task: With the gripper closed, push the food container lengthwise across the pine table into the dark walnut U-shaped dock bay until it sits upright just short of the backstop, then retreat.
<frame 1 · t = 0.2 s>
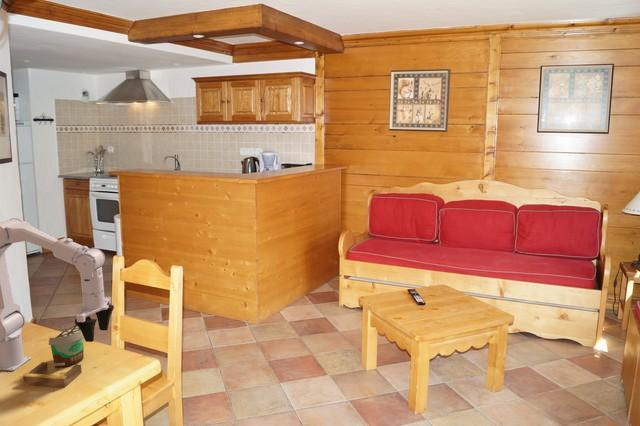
hand: (96, 335, 147), 10 cm above the table, fingers open, 7 cm apart
food container: (74, 362, 153), on the table
dock bay: (52, 379, 143), on the table
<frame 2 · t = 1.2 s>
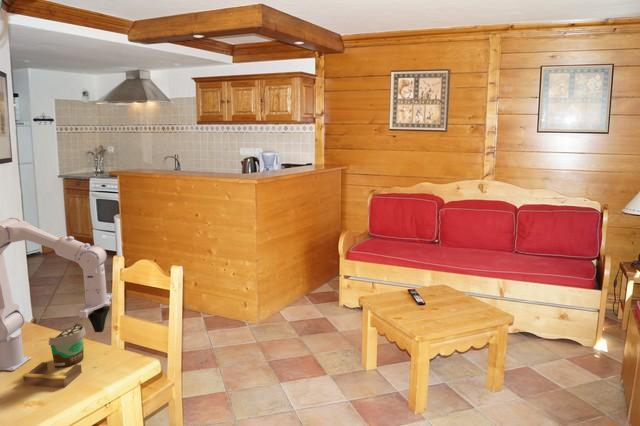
hand: (99, 331, 150), 10 cm above the table, fingers closed
nothing on the table moved.
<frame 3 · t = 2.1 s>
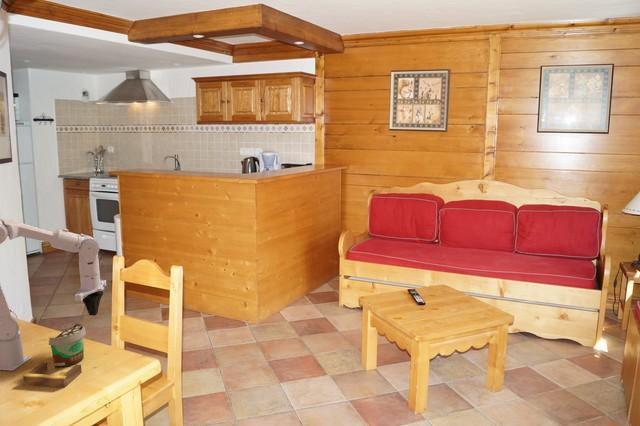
hand: (93, 314, 162), 10 cm above the table, fingers closed
nothing on the table moved.
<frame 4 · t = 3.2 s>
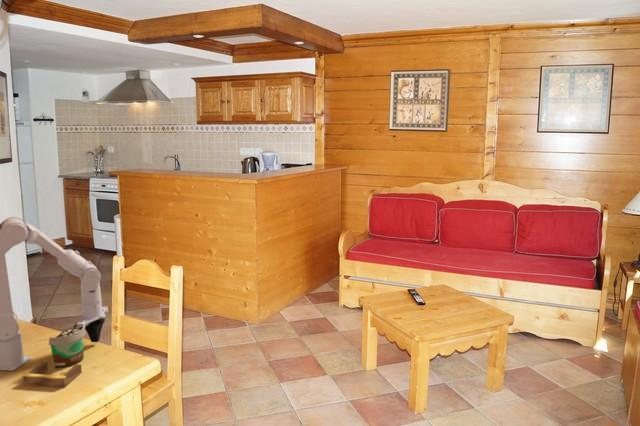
hand: (95, 341, 164), 1 cm above the table, fingers closed
nothing on the table moved.
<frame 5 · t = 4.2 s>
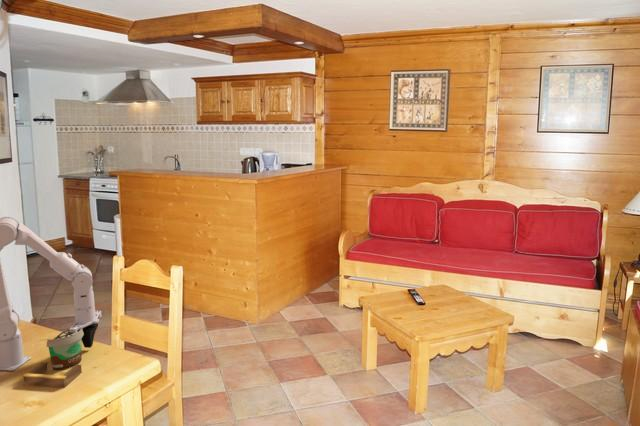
hand: (88, 346, 160), 1 cm above the table, fingers closed
food container: (72, 363, 152), on the table, touching gripper
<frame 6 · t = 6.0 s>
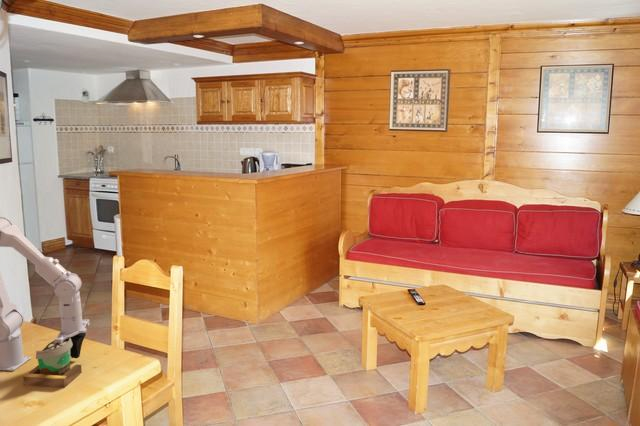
hand: (75, 357, 153), 1 cm above the table, fingers closed
food container: (62, 375, 145), on the table, touching gripper
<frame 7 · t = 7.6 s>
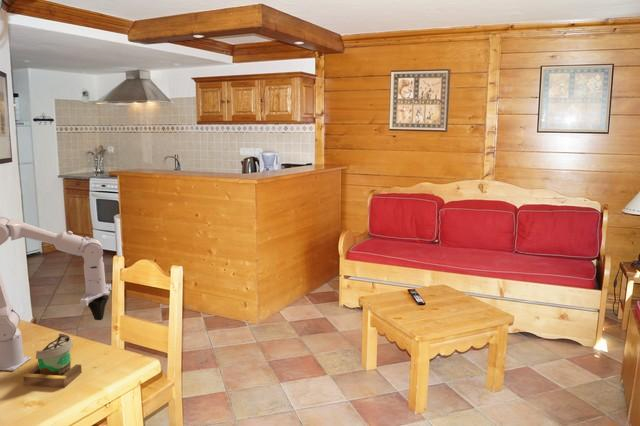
hand: (98, 319, 159), 10 cm above the table, fingers closed
food container: (62, 375, 145), on the table
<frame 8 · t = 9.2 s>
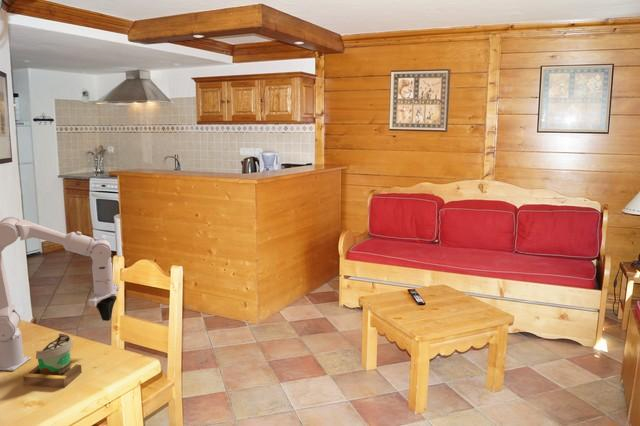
hand: (106, 319, 159), 10 cm above the table, fingers closed
nothing on the table moved.
at the end: food container 1.4 cm from the target spot, on the table; food container tilted 0°; food container moved 7.9 cm from its start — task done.
